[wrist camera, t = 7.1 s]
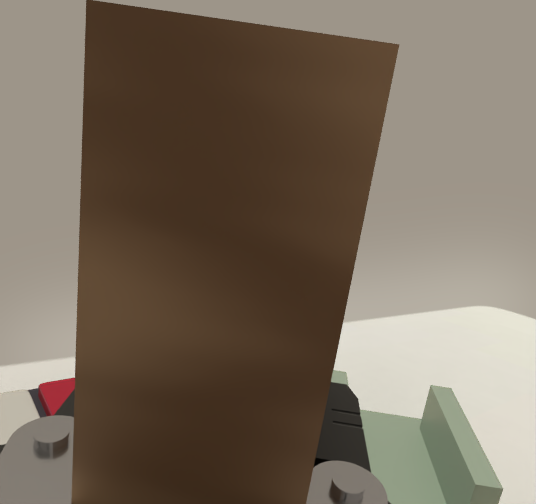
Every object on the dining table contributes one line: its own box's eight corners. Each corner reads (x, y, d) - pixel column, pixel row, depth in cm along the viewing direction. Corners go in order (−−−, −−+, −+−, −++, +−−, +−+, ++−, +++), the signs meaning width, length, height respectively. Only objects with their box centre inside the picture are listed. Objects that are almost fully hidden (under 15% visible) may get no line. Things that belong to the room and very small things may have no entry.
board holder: (312, 554, 22) (328, 477, 21) (309, 418, 32) (320, 360, 31) (492, 584, 22) (519, 507, 21) (435, 438, 32) (451, 379, 30)
